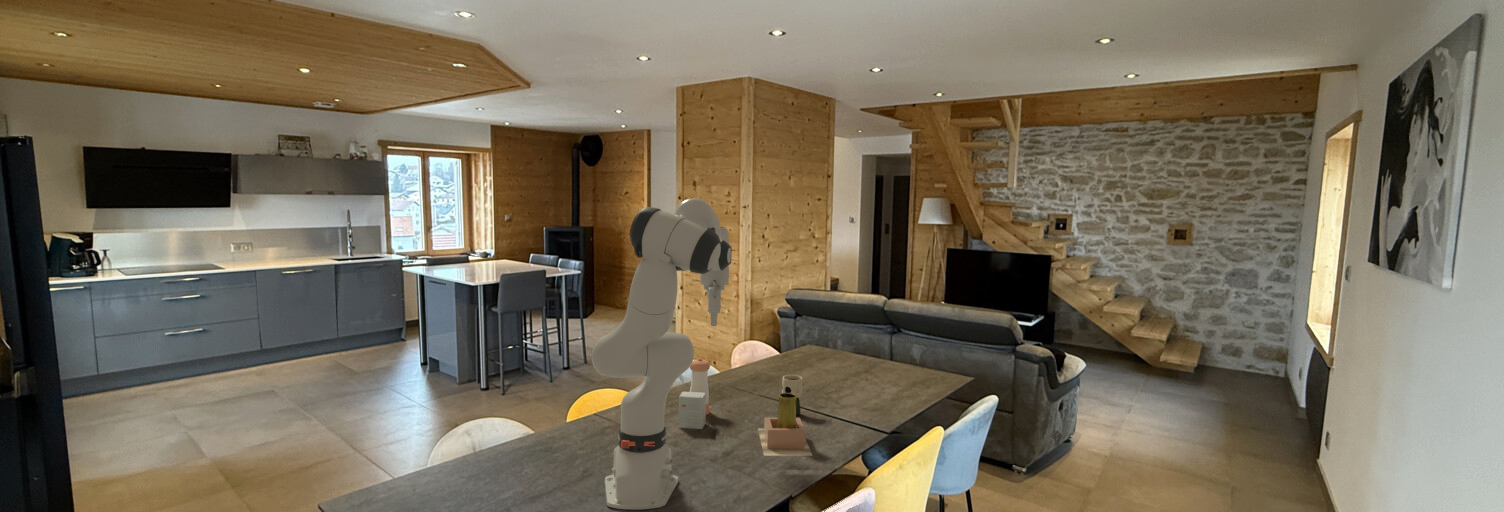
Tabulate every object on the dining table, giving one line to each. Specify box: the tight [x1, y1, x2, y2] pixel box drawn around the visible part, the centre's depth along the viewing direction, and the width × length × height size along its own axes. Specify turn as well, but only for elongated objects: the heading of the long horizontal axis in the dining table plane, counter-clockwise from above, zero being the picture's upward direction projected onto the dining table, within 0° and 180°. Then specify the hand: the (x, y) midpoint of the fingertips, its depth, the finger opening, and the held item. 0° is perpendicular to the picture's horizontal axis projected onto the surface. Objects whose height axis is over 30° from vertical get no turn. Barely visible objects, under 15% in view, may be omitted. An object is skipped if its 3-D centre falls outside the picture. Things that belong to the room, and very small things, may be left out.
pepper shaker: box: [689, 357, 711, 416], centre depth 223 cm, size 7×7×19 cm
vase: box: [777, 392, 797, 428], centre depth 196 cm, size 6×6×14 cm
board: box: [757, 428, 813, 457], centre depth 196 cm, size 22×14×1 cm, turn 4°
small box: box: [678, 391, 707, 430], centre depth 210 cm, size 8×6×10 cm
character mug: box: [781, 374, 804, 416], centre depth 224 cm, size 11×7×13 cm, turn 30°
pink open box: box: [763, 417, 806, 448], centre depth 196 cm, size 11×11×6 cm
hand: (713, 322), depth 202 cm, fingers open, 8 cm apart
